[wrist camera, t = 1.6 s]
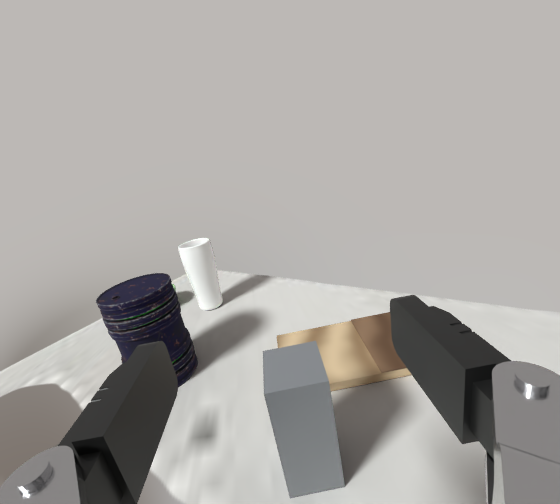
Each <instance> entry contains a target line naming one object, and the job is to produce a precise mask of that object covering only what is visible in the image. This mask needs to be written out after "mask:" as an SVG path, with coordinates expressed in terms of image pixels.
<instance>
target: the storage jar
mask: <svg viewBox="0 0 560 504" xmlns="http://www.w3.org/2000/svg"><path fill="white" fill-rule="evenodd" d="M171 282H172V281H171V279H170V276H169V275H168V274H164V273H155V274H148V275H143V276H139V277H136V278H133V279H130V280H127V281H125V282H122V283H120V284H118V285H115V286H113V287H111V288H110V289H108V290H106V291H105V292H104V293H102V294H101V295H100V296H99V297H98V298H97V300H96V303H97V305H98V307H99V308H100V309H101V310H100V311H101V314H102V316H103V321H104V323H105V326H106V327H107V328H108V333H109V335H110V336H111V338H112V339H114V340H115V341H116V343H117V346H118V348H119V350H120V353H121V355H122V359H121V360H122V364H123V363H125V362H127V360H128V359H129V357H130V356H131V354H132V353H133V351H134V350H135V349H136V347H137V346H138V345H141V344H147V343H152V342H157V341H163V342H164V343H165V345H166V347H167V350H168V353H169V356H170V359H171V362H172V365H173V367H174V370H175V373H176V376H177V381H178V387H179V386H181V385H182V384H184V383H185V382H186V381H187V380H188V379H189V378H190V377H191V376H192V374H193V373H194V372H195V370H196V367H197V364H198V360H197V357H196V354H195V351H194V345H193V342H192V339H191V338H190V333H189V332H188V330H187V328H185V326H184V323H183V320H182V317H181V314H180V312H181V308H180V303H179V302H178V297H177V294H176V291H175V290H174V287H173V285H172V284H171Z"/></svg>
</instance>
